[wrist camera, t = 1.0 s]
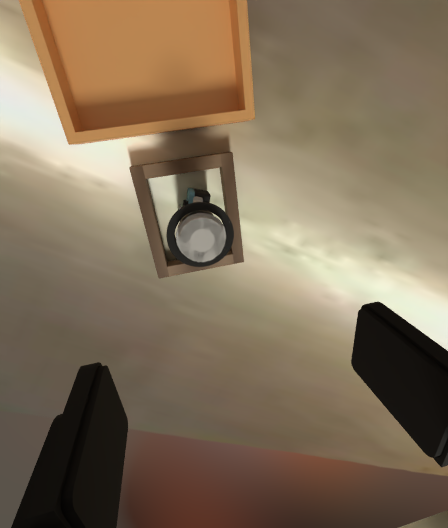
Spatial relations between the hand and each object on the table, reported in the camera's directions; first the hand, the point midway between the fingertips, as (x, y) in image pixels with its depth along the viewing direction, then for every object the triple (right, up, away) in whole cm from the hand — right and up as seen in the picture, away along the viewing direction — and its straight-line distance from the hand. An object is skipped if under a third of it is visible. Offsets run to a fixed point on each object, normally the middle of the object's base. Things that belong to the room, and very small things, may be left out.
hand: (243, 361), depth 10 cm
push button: (-4, +9, +20) cm, 22 cm away
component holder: (-4, +9, +20) cm, 22 cm away
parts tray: (-7, +22, +13) cm, 27 cm away
